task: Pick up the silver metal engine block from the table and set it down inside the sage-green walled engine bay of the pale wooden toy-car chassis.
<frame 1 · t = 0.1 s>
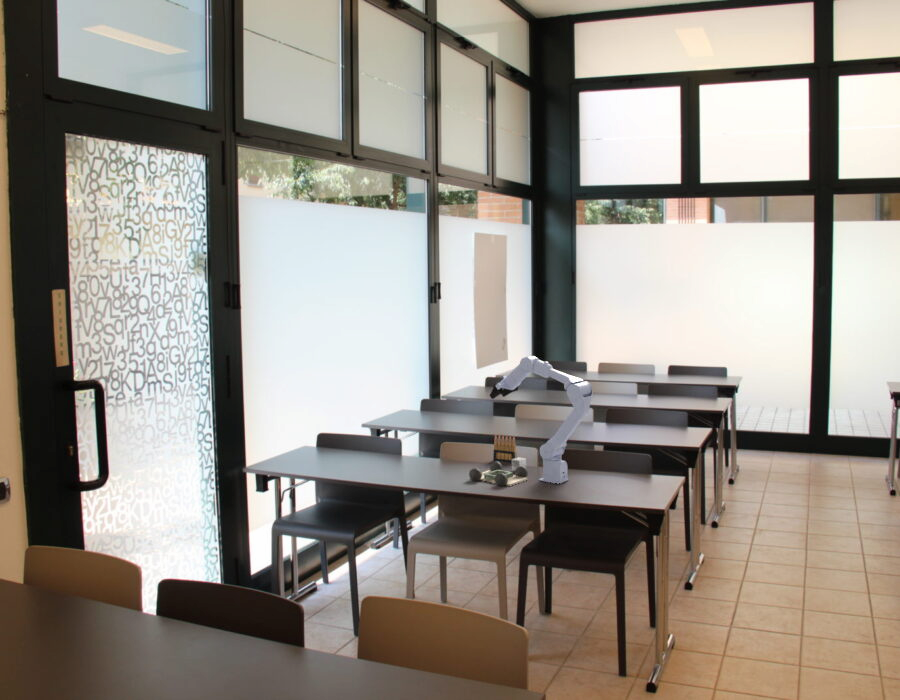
hand: (496, 396, 359), 32 cm above the table, tool tilted 50°, fingers open, 7 cm apart
ammunition clip: (504, 462, 377), on the table
chassis: (498, 479, 347), on the table
engine block: (518, 470, 361), on the table
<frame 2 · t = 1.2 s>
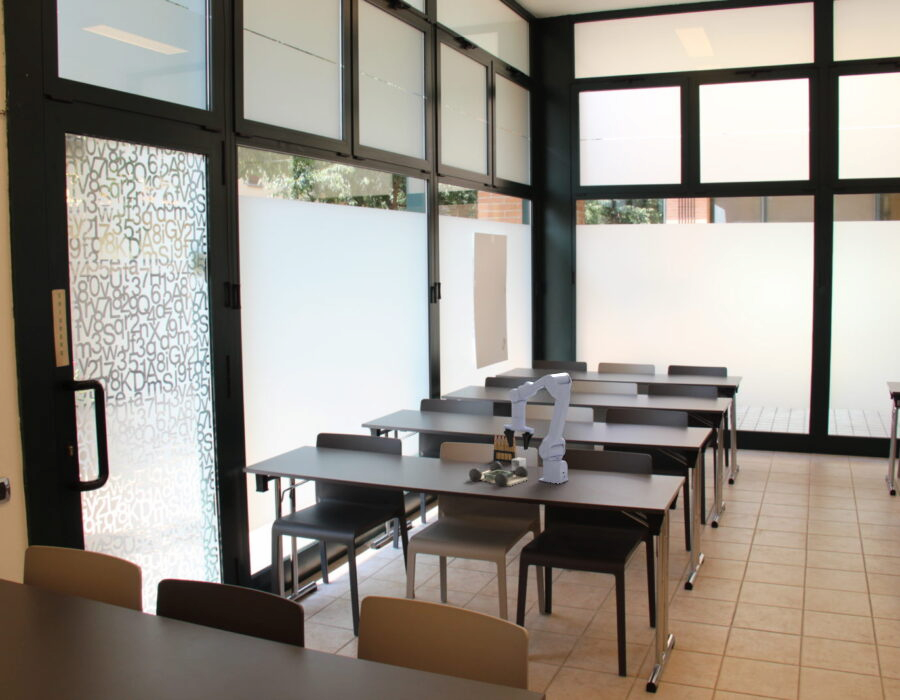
hand: (518, 448, 360), 10 cm above the table, tool pointing down, fingers open, 7 cm apart
nothing on the table moved.
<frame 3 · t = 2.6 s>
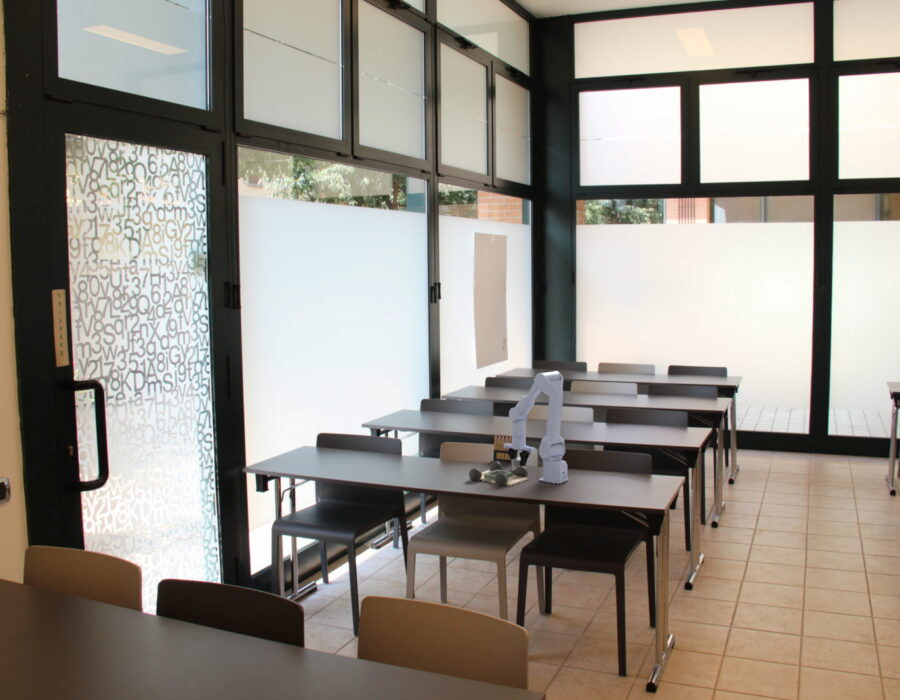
hand: (518, 467, 361), 1 cm above the table, tool pointing down, fingers closed on engine block, 4 cm apart
engine block: (518, 470, 361), on the table, touching gripper
everything else where it was.
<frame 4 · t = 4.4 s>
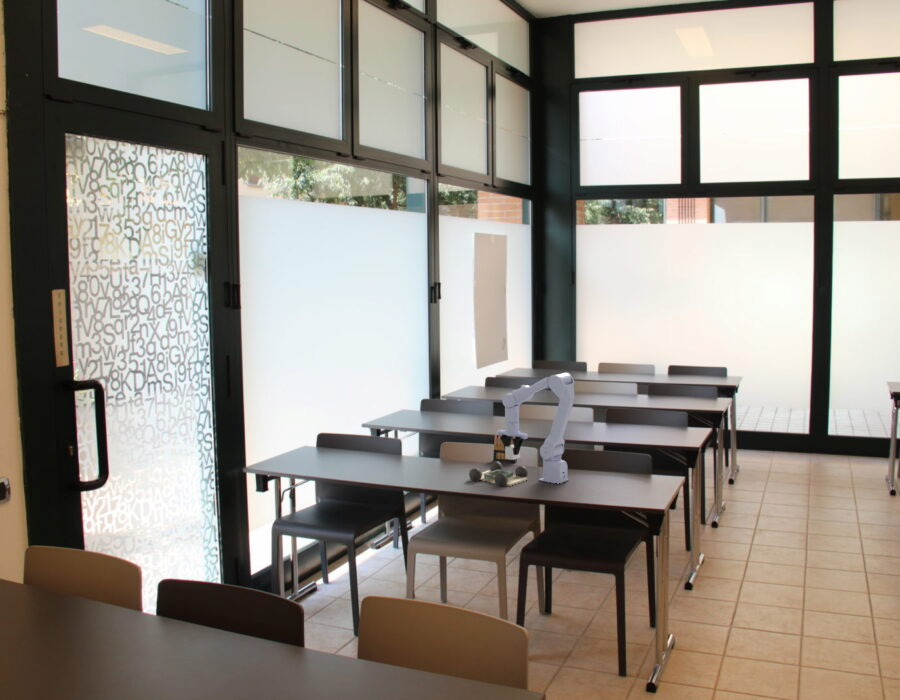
hand: (512, 453, 356), 8 cm above the table, tool pointing down, fingers closed on engine block, 4 cm apart
engine block: (512, 457, 356), point 7 cm above the table, touching gripper
everything else where it was.
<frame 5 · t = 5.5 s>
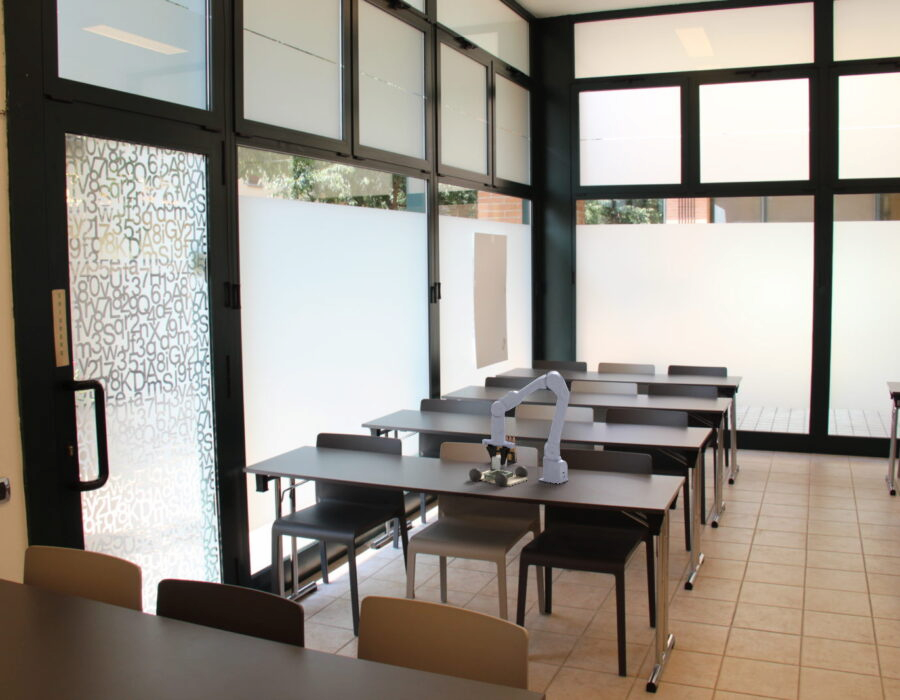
hand: (498, 463, 347), 7 cm above the table, tool pointing down, fingers closed on engine block, 4 cm apart
engine block: (499, 468, 347), point 4 cm above the table, touching gripper
everything else where it was.
when the fingers open (3 cm above the table, at t = 6.4 s): engine block stays where it is, resting on chassis.
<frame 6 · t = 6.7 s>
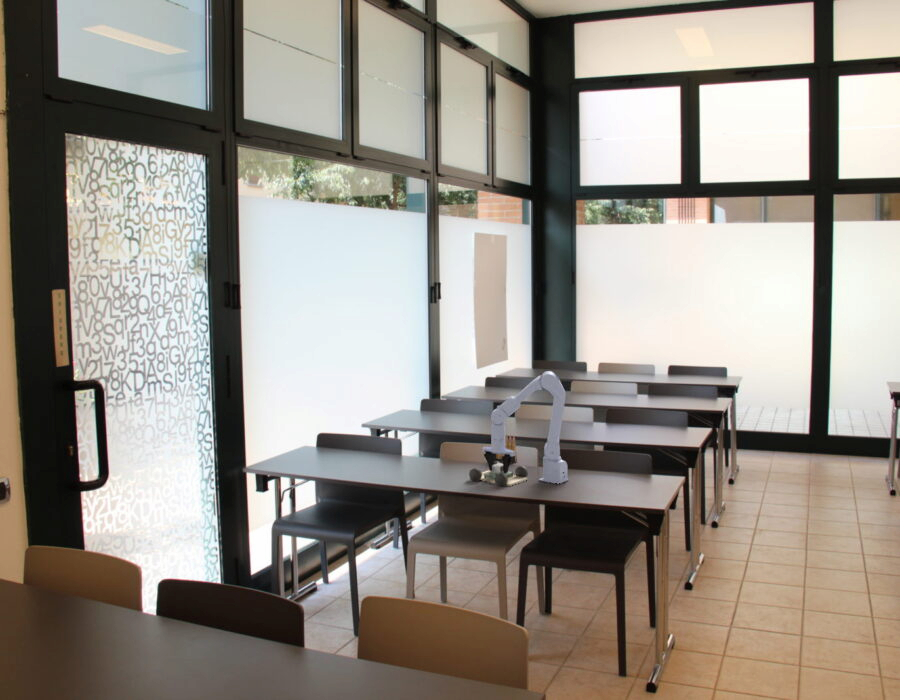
hand: (498, 471, 347), 3 cm above the table, tool pointing down, fingers open, 6 cm apart
engine block: (499, 476, 348), point 1 cm above the table, touching chassis
everything else where it was.
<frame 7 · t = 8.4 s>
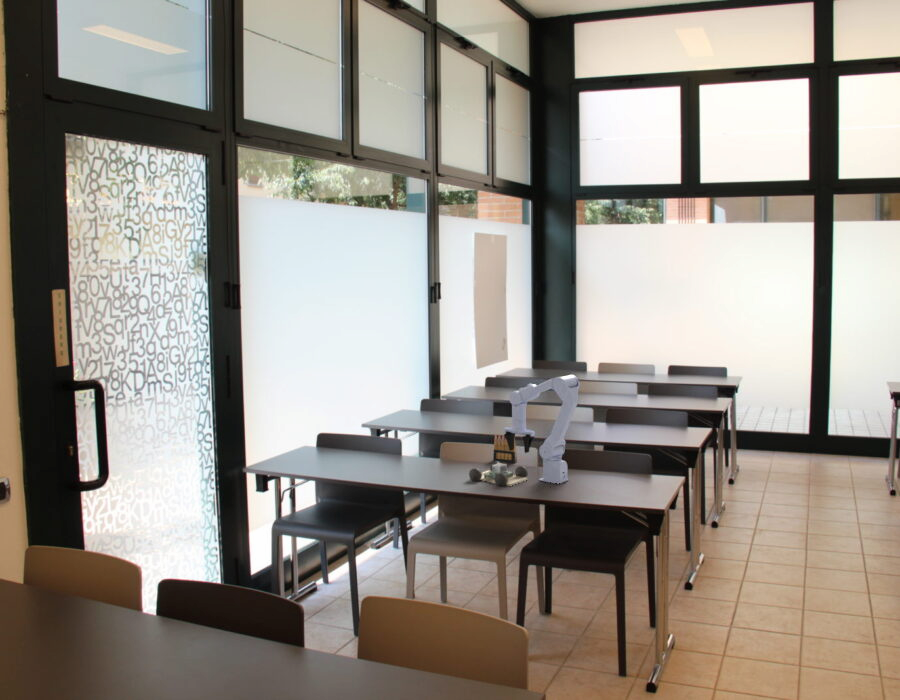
hand: (519, 451, 356), 9 cm above the table, tool pointing down, fingers open, 7 cm apart
nothing on the table moved.
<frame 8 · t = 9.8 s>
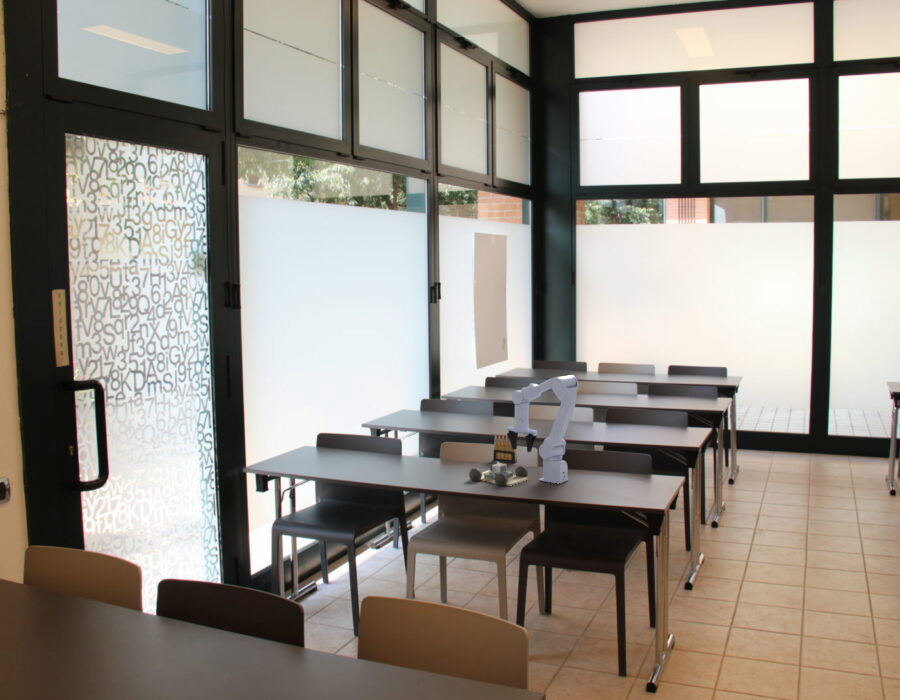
hand: (521, 450, 357), 9 cm above the table, tool pointing down, fingers open, 7 cm apart
nothing on the table moved.
at the end: engine block 0.6 cm off-centre on the chassis, point 1.0 cm above the chassis's base; engine block tilted 0°; the gripper is holding nothing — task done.
